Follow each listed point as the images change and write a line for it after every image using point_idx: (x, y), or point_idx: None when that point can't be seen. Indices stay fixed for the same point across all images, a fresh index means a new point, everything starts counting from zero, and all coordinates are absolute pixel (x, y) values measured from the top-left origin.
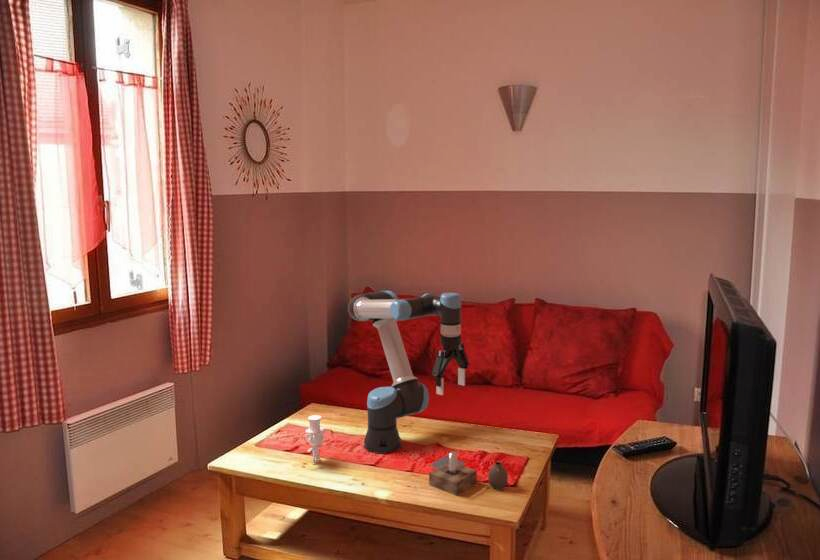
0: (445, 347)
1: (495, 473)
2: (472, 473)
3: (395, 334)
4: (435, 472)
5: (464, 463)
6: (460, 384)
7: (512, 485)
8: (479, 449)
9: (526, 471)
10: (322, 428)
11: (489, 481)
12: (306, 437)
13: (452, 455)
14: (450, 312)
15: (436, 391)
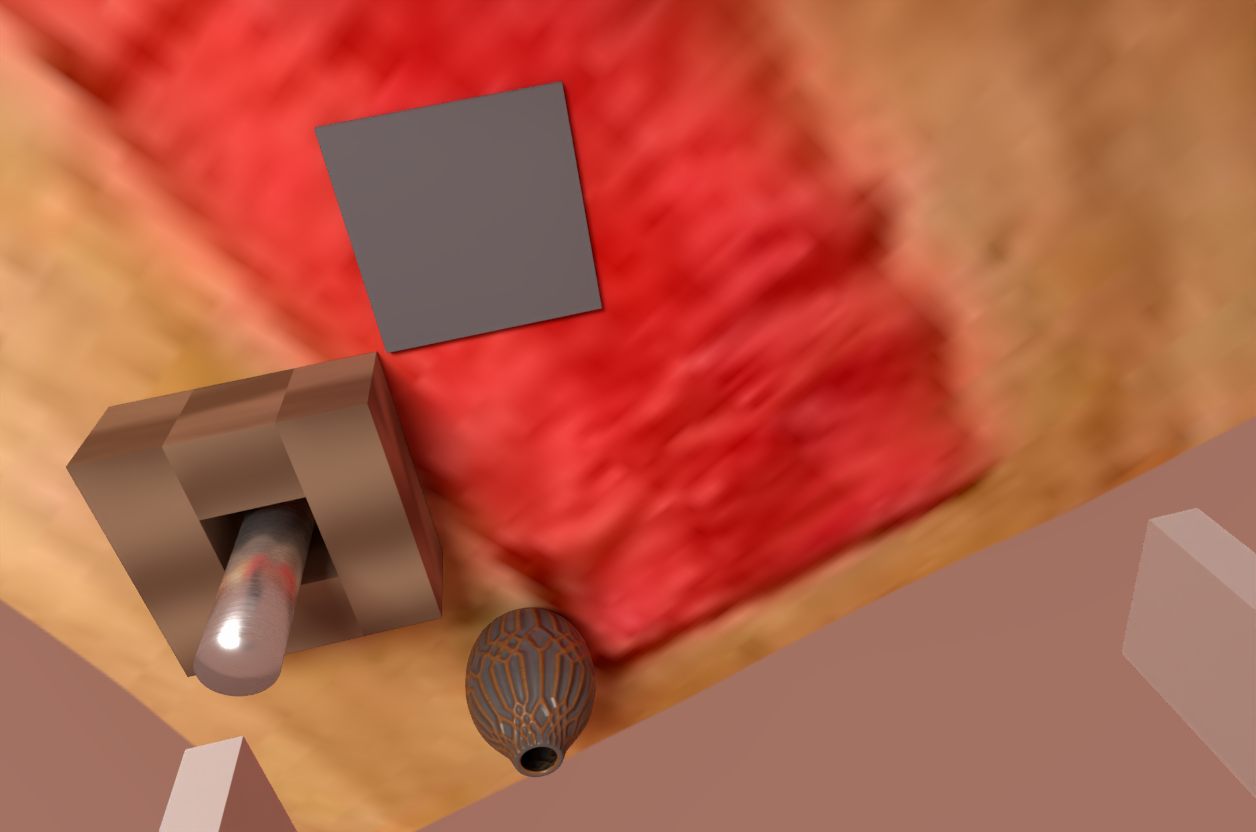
0: None
1: (485, 740)
2: (388, 628)
3: None
4: (125, 489)
5: (588, 304)
6: (1146, 585)
7: (603, 661)
8: (890, 172)
9: (804, 593)
10: None
11: (468, 660)
12: None
13: (210, 685)
14: None
15: (167, 809)
